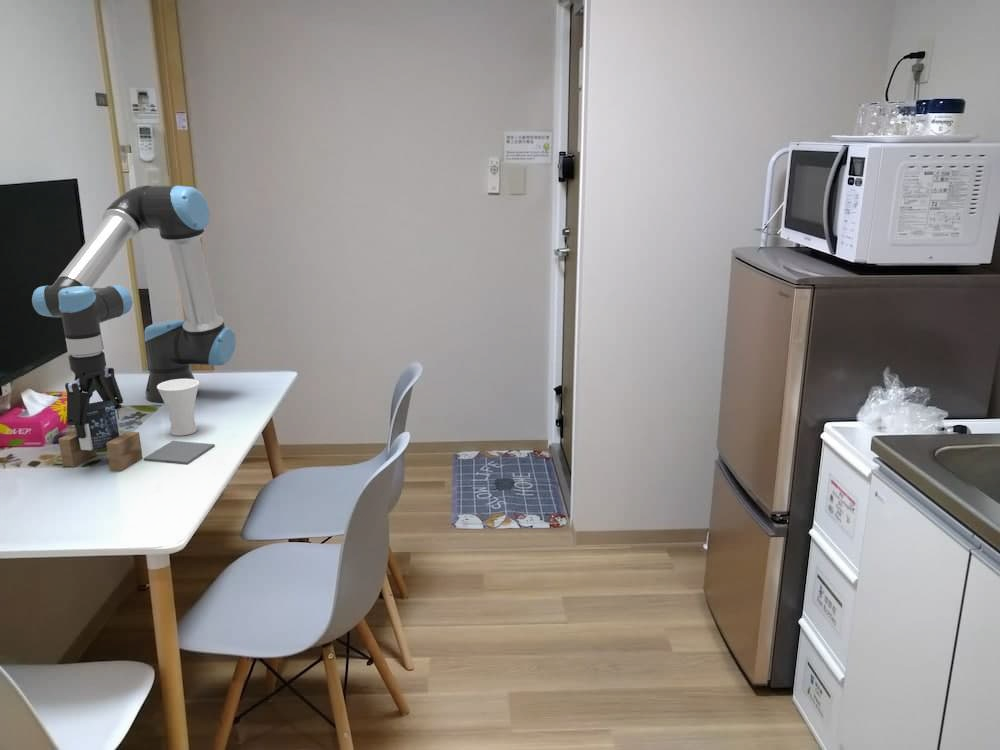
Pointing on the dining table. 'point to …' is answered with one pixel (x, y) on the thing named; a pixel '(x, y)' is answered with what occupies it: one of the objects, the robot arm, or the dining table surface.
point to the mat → (179, 452)
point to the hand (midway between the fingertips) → (101, 441)
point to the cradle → (119, 451)
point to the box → (102, 423)
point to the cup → (180, 404)
